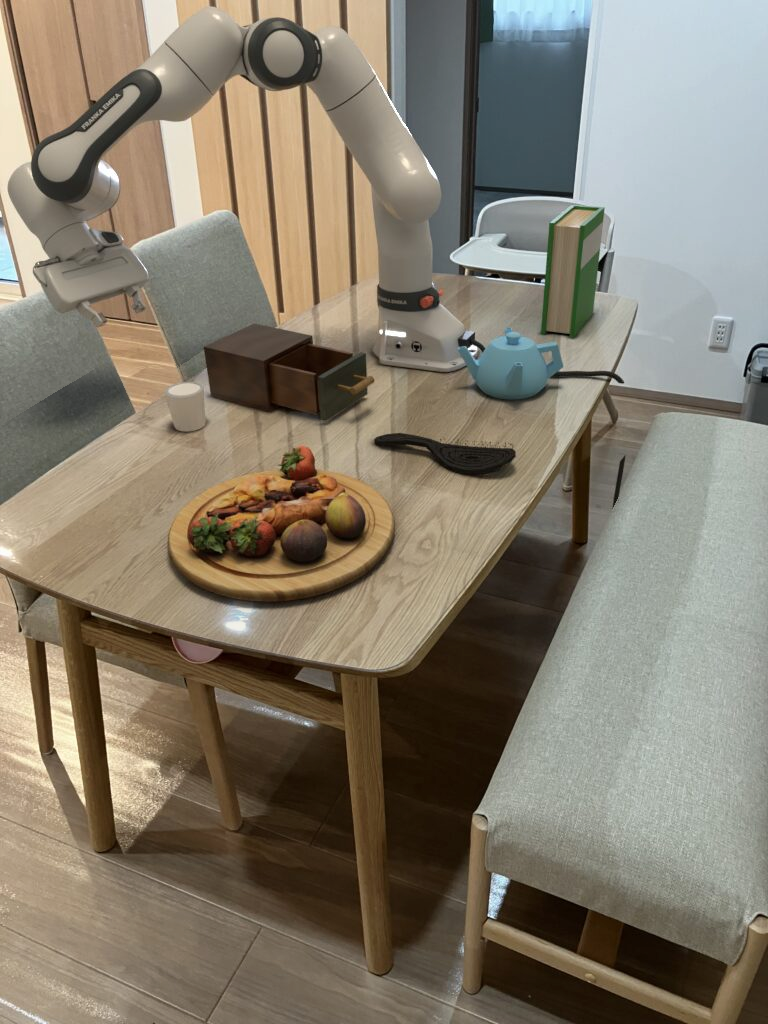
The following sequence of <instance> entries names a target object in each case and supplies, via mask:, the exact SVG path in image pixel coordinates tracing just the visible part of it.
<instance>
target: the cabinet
mask: <svg viewBox="0 0 768 1024" xmlns="http://www.w3.org/2000/svg"><path fill="white" fill-rule="evenodd" d="M305 343H309V344H314V338H313V335H311V334H307V333H301V332H297V331H294V330H293V331H292V330H288V329H283V328H278V327H273V326H269V325H263V324H259V323H254V322H253V323H251V324H249V325H247V326H245V327H243V328H241V329H239V330H237V331H235V332H233V333H230V334H228V335H226V336H224V337H221V338H220V339H217V340H214V341H213V342H211V343H208V344H206V345H204V346H203V352H204V353H203V354H204V358H205V367H206V372H207V379H208V387H209V392H210V397H213V398H217V399H220V400H224V401H227V402H232V403H235V404H238V405H241V406H246V407H249V408H252V409H257V410H261V411H264V412H266V413H267V412H268V413H270V412H272V411H273V410H275V409H277V408H279V407H281V406H280V405H277V404H273V403H271V397H270V388H269V379H268V370H267V363H269V362H271V361H273V360H275V359H277V358H278V357H280V356H282V355H284V354H286V353H288V352H290V351H292V350H294V349H296V348H298V347H299V346H301V345H303V344H305Z"/></svg>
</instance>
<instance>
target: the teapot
mask: <svg viewBox="0 0 768 1024" xmlns="http://www.w3.org/2000/svg"><path fill="white" fill-rule="evenodd" d="M558 344H559V343H558V341H551V342H544V343H539V344H536V342H535V341H534V340H533V339H531V338H529V337H527V336H522V334H521V333H519V332H516V331H513V328H512V327H505V330H504V335H502V336H497V337H495V338H494V339H492V340H490V342H489V343H488V345H487V346H486V347H485V348H486V349H485V350H484V352H483V353H482V352H481V355H480V356H479V358H478V359H476V358H474V357H473V356H472V354H471V353H470V352H469V350H468V349H467V347H466V346H462V347H458V350H459V352H460V354H461V356H462V358H463V360H464V362H465V364H466V367H467V369H468V371H469V373H470V375H471V377H472V379H473V380H474V382H475V384H476V385H477V387H478V388H479V389H480V390H481V391H482V392H483V393H484V394H486V395H487V396H489V397H492V398H496V399H501V400H524V399H528V398H532V397H533V396H536V395H537V394H539V393H540V392H541V390H543V389H544V387H546V385H547V383H548V381H549V379H550V378H551V377H554V376H553V375H554V374H555V373H556V372H560V371H561V369H563V368H564V363H563V358H562V355H561V352H560V348H559V345H558ZM548 352H551V359H552V360H551V361H550V362H549V363H548V364H547V363H546V360H545V358H544V356H543V354H544V353H548Z"/></svg>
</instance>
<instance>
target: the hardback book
mask: <svg viewBox="0 0 768 1024" xmlns="http://www.w3.org/2000/svg"><path fill="white" fill-rule="evenodd" d="M604 217H605V206H593V205H578V204H570V206H568V207H567V208H565V209H564V210H563V211H562V212H561V213H559V214H558V215H557V216H556V217H555V218H553V219H552V220H551V221H550V222H549V224H548V234H547V235H548V236H547V248H546V262H545V273H544V285H543V286H544V289H543V301H542V313H541V326H540V335H546V334H547V333H548V332H552V333H553V332H554V333H561V334H569V339H574V338H576V336H577V335H578V333H579V332H580V331H581V330H582V329H583V327H584V326H585V325H586V323H587V322H588V321H589V320H590V318H591V317H592V315H593V314H594V307H595V298H596V290H597V282H598V281H597V280H598V272H599V271H598V270H599V263H600V255H601V254H600V253H601V245H602V235H603V227H604Z"/></svg>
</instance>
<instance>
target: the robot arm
mask: <svg viewBox="0 0 768 1024" xmlns="http://www.w3.org/2000/svg"><path fill="white" fill-rule="evenodd" d="M236 76H240V77H241V78H243V79H245V80H246V81H247V82H249V83H251V84H252V85H254V86H256V87H257V88H261V89H263V90H266V91H270V92H282V91H288V90H291V89H294V88H297V87H300V86H302V85H306V86H307V87H308V88H309V89H310V90H311V91H312V93H313V94H315V96H316V98H317V99H318V101H319V103H320V105H321V106H322V108H323V110H324V112H325V113H326V116H328V118H329V120H330V122H331V123H332V125H333V127H334V128H335V130H336V131H337V133H338V135H339V136H340V138H341V141H342V142H343V143H344V145H345V146H346V149H347V150H348V152H349V153H350V154H351V156H352V157H353V159H354V160H355V162H356V164H357V165H358V166H359V168H360V169H361V171H362V173H363V174H364V176H365V178H366V179H367V180H368V182H369V184H370V189H371V201H372V210H373V221H374V229H375V236H376V244H377V265H378V270H377V271H378V284H377V285H376V303H377V308H378V320H377V329H376V336H375V341H374V345H373V348H372V351H373V354H374V355H375V356H376V357H377V358H378V361H379V362H378V363H379V364H381V365H384V366H385V365H386V366H391V367H392V366H393V367H399V368H400V367H401V368H409V369H416V370H423V371H432V372H440V373H449V372H450V373H451V372H454V371H457V370H460V369H462V368H464V367H467V365H466V364H465V362H464V360H463V358H462V356H461V354H460V352H459V350H458V347H462V346H466V347H467V349H468V350H469V352H470V353H471V354H472V356H473V357H474V358H475V359H476V358H477V357H478V355H479V350H480V351H481V354H482V353H483V352H484V350H485V349H486V347H485V346H484V345H483V344H482V343H481V342H479V341H477V340H476V331H472V330H466V327H465V325H464V323H462V322H461V321H460V320H459V319H458V318H457V317H456V316H454V315H453V314H452V313H451V312H450V311H449V310H448V309H447V308H446V307H444V305H442V304H441V300H440V297H442V296H444V293H443V292H444V291H445V289H440V290H439V291H438V290H437V288H436V286H435V284H434V283H433V251H434V250H433V248H434V247H433V241H432V237H431V230H430V224H429V219H430V218H432V217H433V216H434V215H435V214H436V213H437V211H438V209H439V207H440V204H441V202H442V201H441V200H442V189H441V185H440V181H439V179H438V176H437V174H436V172H435V171H434V169H433V168H432V166H431V165H430V163H429V161H428V159H427V158H426V156H425V155H424V153H423V151H422V149H421V148H420V146H419V144H418V143H417V141H416V140H415V138H414V137H413V135H412V134H411V132H410V131H409V128H408V127H407V126H406V124H405V123H404V121H403V119H402V118H401V116H400V115H399V113H398V112H397V110H396V108H395V105H394V104H393V103H392V100H391V99H390V98H389V96H388V94H387V92H386V90H385V88H384V87H383V85H382V83H381V81H380V79H379V77H378V76H377V74H376V72H375V70H374V69H373V67H372V65H371V64H370V62H369V60H368V58H367V57H366V56H365V54H364V53H363V52H362V50H361V49H360V47H359V46H358V45H357V44H356V42H355V41H354V39H353V38H352V37H351V36H350V35H349V34H348V32H347V31H346V30H344V29H343V28H342V27H339V26H335V25H331V26H325V27H322V28H319V29H317V30H316V31H315V32H313V33H312V32H310V31H309V30H307V29H305V28H304V27H303V26H301V25H299V24H298V23H296V22H294V21H292V20H290V19H289V18H284V17H279V16H277V17H265V18H262V19H259V20H257V21H256V22H254V23H250V24H247V25H240V24H239V23H237V22H236V20H235V19H234V17H232V16H231V15H230V14H229V13H227V12H226V11H224V10H223V9H221V8H220V7H219V8H218V7H217V6H212V5H211V6H210V5H209V6H205V7H203V8H201V9H200V10H198V11H196V12H195V13H194V14H192V15H191V16H189V18H187V19H186V20H185V21H184V22H182V24H179V26H178V27H177V28H176V29H174V31H173V32H171V33H170V35H169V36H168V37H167V38H166V39H165V40H164V41H163V42H162V43H161V44H160V45H159V47H158V48H157V49H156V50H155V51H154V52H153V53H152V54H151V55H150V56H149V57H148V58H147V59H146V60H145V61H144V62H143V63H142V64H140V66H138V67H137V68H136V69H134V70H132V71H131V72H129V73H128V74H126V75H125V76H124V77H123V78H121V79H120V80H119V81H118V82H116V83H115V84H114V85H113V86H112V87H111V88H109V89H108V90H107V91H106V92H105V93H104V94H103V95H102V96H101V97H100V98H99V99H98V100H96V102H94V104H93V105H91V106H90V107H89V108H88V109H87V110H85V112H84V113H82V115H81V116H79V117H78V118H77V119H76V120H75V121H73V123H71V124H70V125H69V126H68V127H66V128H64V129H62V130H60V131H58V132H55V133H53V134H51V135H49V136H47V137H45V138H44V139H42V140H41V141H40V142H39V143H38V144H37V146H36V147H35V149H34V150H33V152H32V155H31V160H30V161H28V162H25V163H23V164H21V165H19V167H17V168H16V169H15V170H14V171H13V172H12V173H11V175H10V177H9V179H8V181H7V193H8V197H9V199H10V201H11V204H12V205H13V207H14V209H15V211H16V212H17V214H18V215H19V217H20V218H21V220H22V222H23V223H24V225H25V226H26V227H27V229H28V231H30V233H31V234H33V235H34V236H35V237H36V238H37V239H38V240H39V242H40V246H41V248H42V249H43V251H44V252H45V253H44V254H46V255H47V259H46V260H39V261H36V262H35V263H34V265H33V267H32V274H33V276H34V277H35V279H36V281H37V282H38V283H39V284H40V287H41V289H42V291H43V292H44V295H45V296H46V298H47V300H48V302H49V303H50V305H51V307H52V308H53V309H54V310H55V311H57V312H58V313H60V314H65V313H69V312H71V311H75V310H77V312H78V314H79V315H81V316H83V317H84V318H85V319H88V320H89V321H91V322H92V323H93V325H94V326H95V327H96V328H101V327H103V326H105V325H106V324H107V322H108V319H107V318H106V317H105V315H104V313H103V312H100V313H98V312H97V311H96V310H95V309H93V308H91V305H94V304H96V303H100V302H103V301H105V300H110V299H112V298H115V297H119V296H122V295H124V294H126V295H127V296H128V297H129V298H132V302H133V303H132V305H131V306H130V307H131V308H132V311H134V313H135V314H137V315H138V314H140V313H143V312H145V311H146V309H147V306H146V304H145V302H144V300H142V291H141V289H143V287H144V286H145V285H146V284H147V282H148V281H149V272H148V270H147V268H146V267H145V265H144V264H143V262H142V261H141V259H140V258H139V257H138V256H137V254H136V253H135V252H134V251H133V250H132V249H131V248H130V247H128V246H127V245H125V244H123V243H124V238H123V236H122V235H121V234H120V233H119V232H117V231H111V230H102V229H97V228H93V227H92V228H91V227H89V225H88V223H87V222H88V221H91V220H93V219H95V218H97V217H99V216H100V215H103V214H104V213H107V212H108V211H110V210H111V209H112V208H113V207H114V206H115V205H116V204H117V202H118V200H119V199H120V194H121V182H120V178H119V175H118V173H117V172H116V170H115V169H114V167H112V166H111V164H108V163H107V162H106V161H104V160H103V158H104V157H105V156H106V155H107V154H108V153H109V151H111V150H112V149H113V148H114V147H115V146H116V145H117V144H118V143H119V142H120V141H122V139H124V137H126V136H127V135H128V134H129V133H130V132H131V131H132V130H133V129H135V128H136V127H138V126H139V125H141V124H143V123H146V122H153V121H166V122H170V123H171V122H173V123H179V122H186V121H187V120H189V119H190V118H191V117H193V116H195V115H196V114H197V113H199V112H200V111H201V110H202V109H203V108H204V107H206V105H207V104H208V103H209V102H210V101H211V100H212V98H213V97H215V95H216V94H217V93H218V91H220V89H221V88H222V87H223V86H224V85H225V84H227V82H228V81H230V80H231V79H232V78H234V77H236ZM478 349H479V350H478ZM552 377H560V378H561V377H562V378H563V377H608V378H612V379H613V380H615V381H616V382H617V383H618V384H625V381H624V379H623V378H622V377H621V376H620V375H618V374H617V373H615V372H613V371H609V370H593V371H587V370H586V371H585V370H566V371H565V370H564V371H558V372H556V373H555V374H554V375H553V376H552ZM626 455H627V454H624V456H623V457H622V458H621V460H620V461H619V464H618V470H617V476H616V482H615V483H616V484H615V487H614V495H613V500H612V501H613V502H612V509H613V507H614V505H615V503H616V501H617V499H618V497H619V498H620V492H621V487H622V480H623V475H624V468H625V461H626ZM618 500H619V499H618ZM612 509H611V510H612Z"/></svg>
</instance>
